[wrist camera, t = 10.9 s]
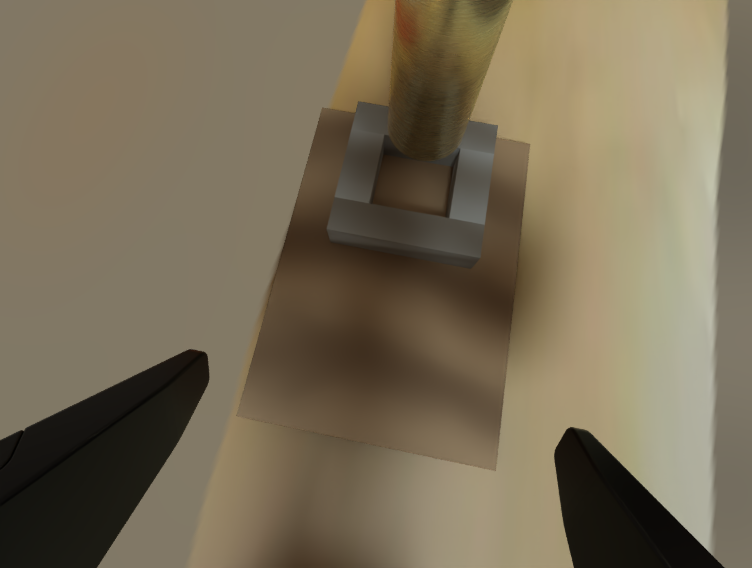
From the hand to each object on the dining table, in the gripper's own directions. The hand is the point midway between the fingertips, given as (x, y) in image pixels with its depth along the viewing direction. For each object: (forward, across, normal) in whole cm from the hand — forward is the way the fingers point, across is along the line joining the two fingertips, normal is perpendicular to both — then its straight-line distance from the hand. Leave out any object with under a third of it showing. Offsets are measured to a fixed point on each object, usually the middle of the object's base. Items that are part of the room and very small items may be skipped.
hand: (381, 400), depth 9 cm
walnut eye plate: (+14, 0, +4) cm, 15 cm away
